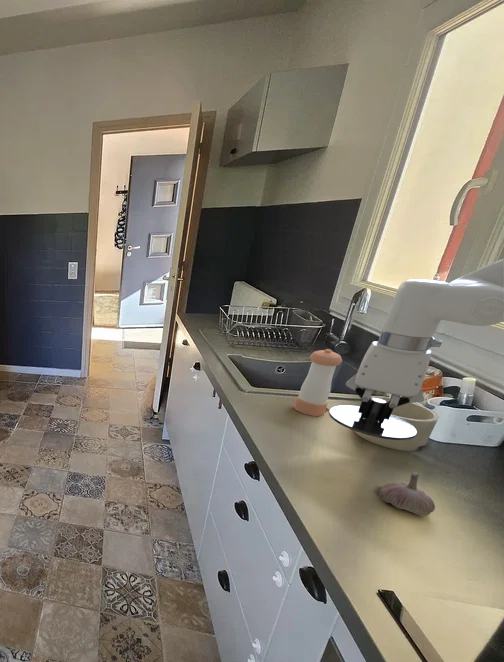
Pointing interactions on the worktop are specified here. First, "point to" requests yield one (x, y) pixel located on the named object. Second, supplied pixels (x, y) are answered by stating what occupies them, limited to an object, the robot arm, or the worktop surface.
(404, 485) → the garlic bulb
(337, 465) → the worktop surface
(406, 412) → the bowl
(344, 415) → the lid
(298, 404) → the pepper shaker
